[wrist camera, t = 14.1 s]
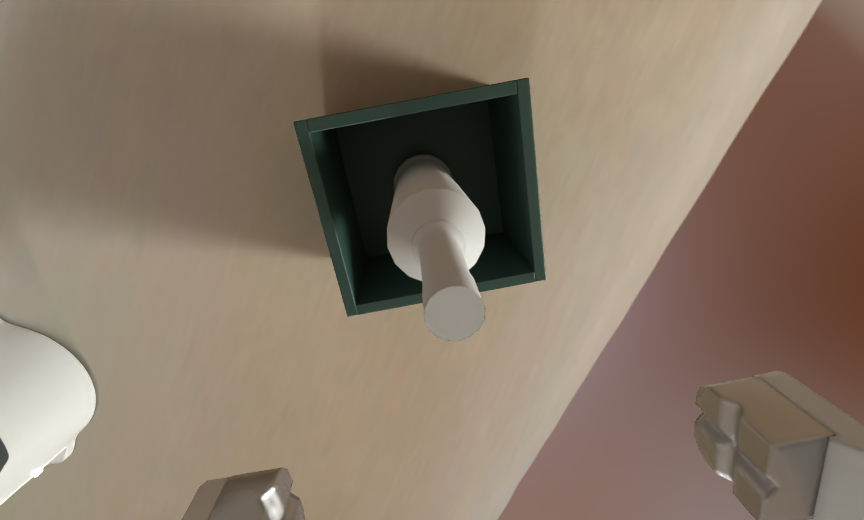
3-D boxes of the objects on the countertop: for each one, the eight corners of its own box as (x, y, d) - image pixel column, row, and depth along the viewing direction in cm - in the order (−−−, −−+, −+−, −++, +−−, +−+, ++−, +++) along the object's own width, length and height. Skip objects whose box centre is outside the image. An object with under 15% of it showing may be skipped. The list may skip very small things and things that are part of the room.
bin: (361, 263, 41) (347, 317, 30) (324, 117, 36) (292, 121, 25) (510, 235, 41) (546, 279, 30) (492, 85, 36) (529, 77, 25)
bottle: (399, 146, 36) (391, 225, 13) (457, 159, 37) (552, 255, 13) (388, 204, 38) (364, 368, 14) (444, 215, 38) (508, 389, 15)
